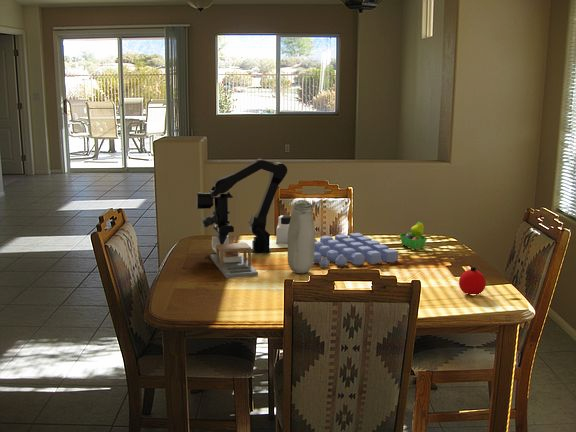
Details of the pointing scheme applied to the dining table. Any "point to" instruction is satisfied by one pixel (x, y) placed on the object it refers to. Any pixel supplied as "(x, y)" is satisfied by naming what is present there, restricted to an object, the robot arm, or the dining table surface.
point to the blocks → (351, 250)
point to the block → (230, 254)
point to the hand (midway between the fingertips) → (221, 244)
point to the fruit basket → (414, 237)
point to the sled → (215, 242)
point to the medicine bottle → (282, 229)
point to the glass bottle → (301, 238)
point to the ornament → (472, 281)
